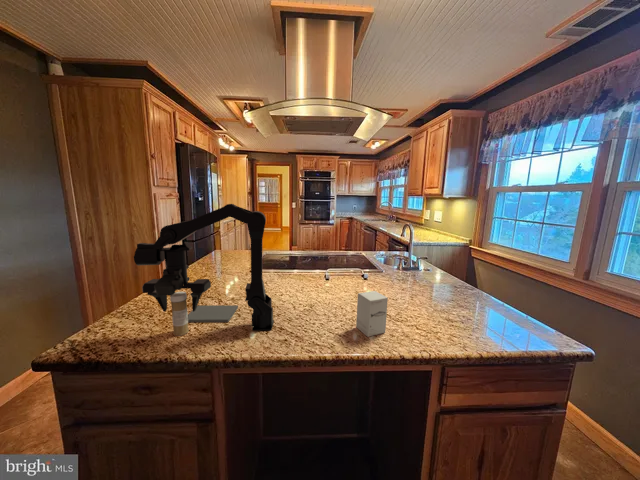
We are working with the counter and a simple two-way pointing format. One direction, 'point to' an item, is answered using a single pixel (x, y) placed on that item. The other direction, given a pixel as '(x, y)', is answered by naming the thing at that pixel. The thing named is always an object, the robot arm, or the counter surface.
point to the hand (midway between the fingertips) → (179, 311)
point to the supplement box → (371, 313)
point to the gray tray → (212, 313)
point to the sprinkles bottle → (179, 313)
